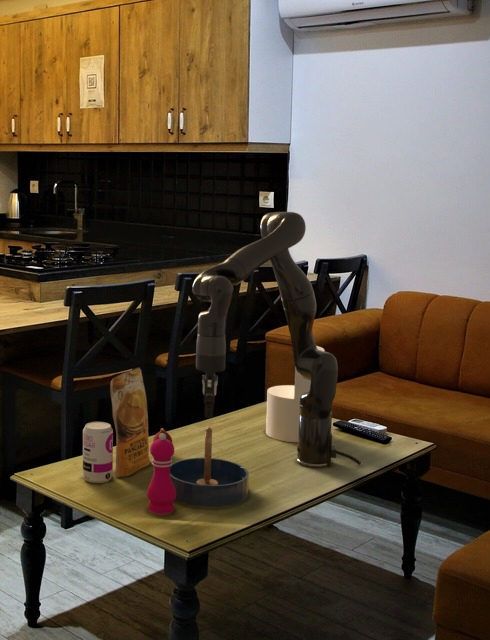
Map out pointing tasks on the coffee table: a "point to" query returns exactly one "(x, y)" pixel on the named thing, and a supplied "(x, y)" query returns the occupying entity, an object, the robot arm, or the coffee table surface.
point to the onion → (164, 433)
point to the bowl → (223, 494)
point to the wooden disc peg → (207, 460)
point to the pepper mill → (161, 477)
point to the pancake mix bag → (130, 422)
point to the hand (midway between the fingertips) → (209, 412)
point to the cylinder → (285, 408)
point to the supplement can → (97, 452)
